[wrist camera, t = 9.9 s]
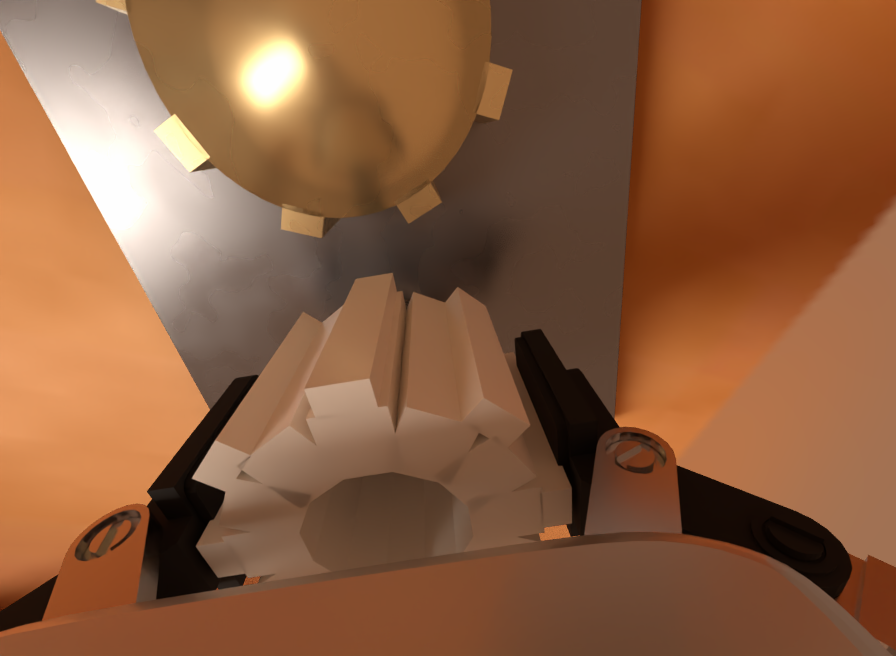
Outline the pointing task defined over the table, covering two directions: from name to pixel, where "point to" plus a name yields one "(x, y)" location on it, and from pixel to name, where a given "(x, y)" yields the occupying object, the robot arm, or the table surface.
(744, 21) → the table surface
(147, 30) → the sun gear
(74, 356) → the table surface
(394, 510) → the planet gear
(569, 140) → the carrier plate
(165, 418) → the table surface
